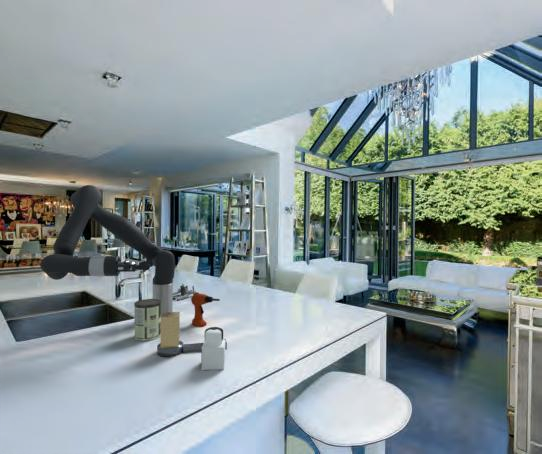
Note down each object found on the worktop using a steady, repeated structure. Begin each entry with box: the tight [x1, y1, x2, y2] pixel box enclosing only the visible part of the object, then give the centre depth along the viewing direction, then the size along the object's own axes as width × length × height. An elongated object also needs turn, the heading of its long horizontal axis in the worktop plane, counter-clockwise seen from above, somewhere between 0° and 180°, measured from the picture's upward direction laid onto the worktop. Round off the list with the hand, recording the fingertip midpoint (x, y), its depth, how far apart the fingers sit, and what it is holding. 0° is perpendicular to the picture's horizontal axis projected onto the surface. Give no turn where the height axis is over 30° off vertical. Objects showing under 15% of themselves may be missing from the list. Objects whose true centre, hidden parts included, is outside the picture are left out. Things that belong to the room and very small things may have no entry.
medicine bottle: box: [200, 326, 227, 371], centre depth 101 cm, size 7×7×12 cm
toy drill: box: [190, 291, 221, 328], centre depth 139 cm, size 5×19×15 cm, turn 52°
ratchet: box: [156, 338, 228, 358], centre depth 113 cm, size 24×9×8 cm, turn 103°
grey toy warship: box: [173, 283, 197, 301], centre depth 191 cm, size 14×7×20 cm
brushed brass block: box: [160, 311, 181, 349], centre depth 111 cm, size 6×6×11 cm
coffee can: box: [133, 298, 161, 342], centre depth 126 cm, size 10×10×14 cm
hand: (151, 265), depth 119 cm, fingers open, 8 cm apart
